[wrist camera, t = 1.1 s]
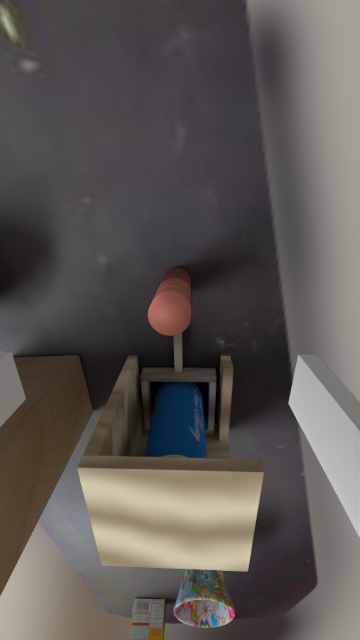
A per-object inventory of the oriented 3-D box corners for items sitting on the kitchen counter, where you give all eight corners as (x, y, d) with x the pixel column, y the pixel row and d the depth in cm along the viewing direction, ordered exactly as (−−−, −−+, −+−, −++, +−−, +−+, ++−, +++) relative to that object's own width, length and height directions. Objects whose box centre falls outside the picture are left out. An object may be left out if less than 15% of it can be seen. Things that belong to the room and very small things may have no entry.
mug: (170, 520, 46) (164, 602, 36) (218, 512, 44) (225, 595, 35) (190, 555, 50) (190, 637, 40) (234, 549, 49) (246, 632, 39)
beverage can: (211, 396, 35) (222, 480, 24) (178, 419, 37) (173, 507, 25) (180, 367, 33) (176, 442, 22) (147, 393, 35) (127, 474, 24)
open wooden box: (128, 355, 33) (77, 467, 18) (229, 355, 32) (263, 472, 17) (136, 429, 37) (101, 565, 23) (224, 430, 37) (247, 571, 22)
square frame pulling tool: (134, 268, 28) (102, 295, 18) (219, 267, 27) (236, 294, 17) (147, 422, 36) (131, 500, 26) (212, 423, 36) (221, 503, 26)
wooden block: (80, 353, 33) (-63, 525, 14) (94, 411, 37) (-3, 607, 18) (9, 356, 33) (-216, 525, 15) (30, 413, 37) (-128, 604, 19)
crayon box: (136, 603, 59) (124, 689, 48) (134, 597, 58) (121, 684, 47) (166, 604, 58) (160, 691, 48) (165, 598, 57) (159, 685, 46)
